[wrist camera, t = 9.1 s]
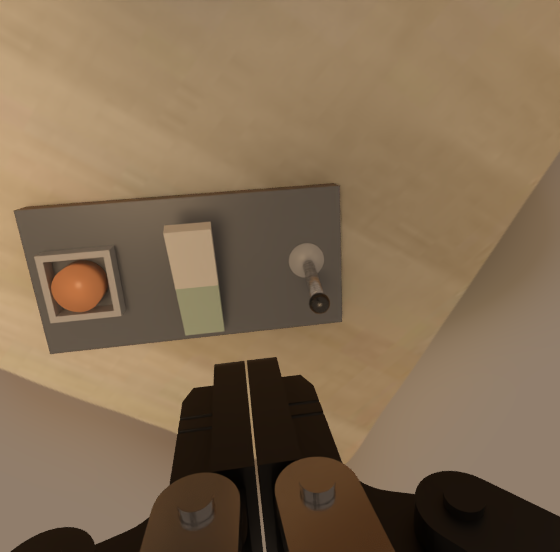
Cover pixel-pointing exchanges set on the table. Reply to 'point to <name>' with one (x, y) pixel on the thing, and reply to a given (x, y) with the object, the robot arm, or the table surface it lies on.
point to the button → (79, 286)
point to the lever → (315, 289)
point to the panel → (157, 272)
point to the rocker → (195, 276)
